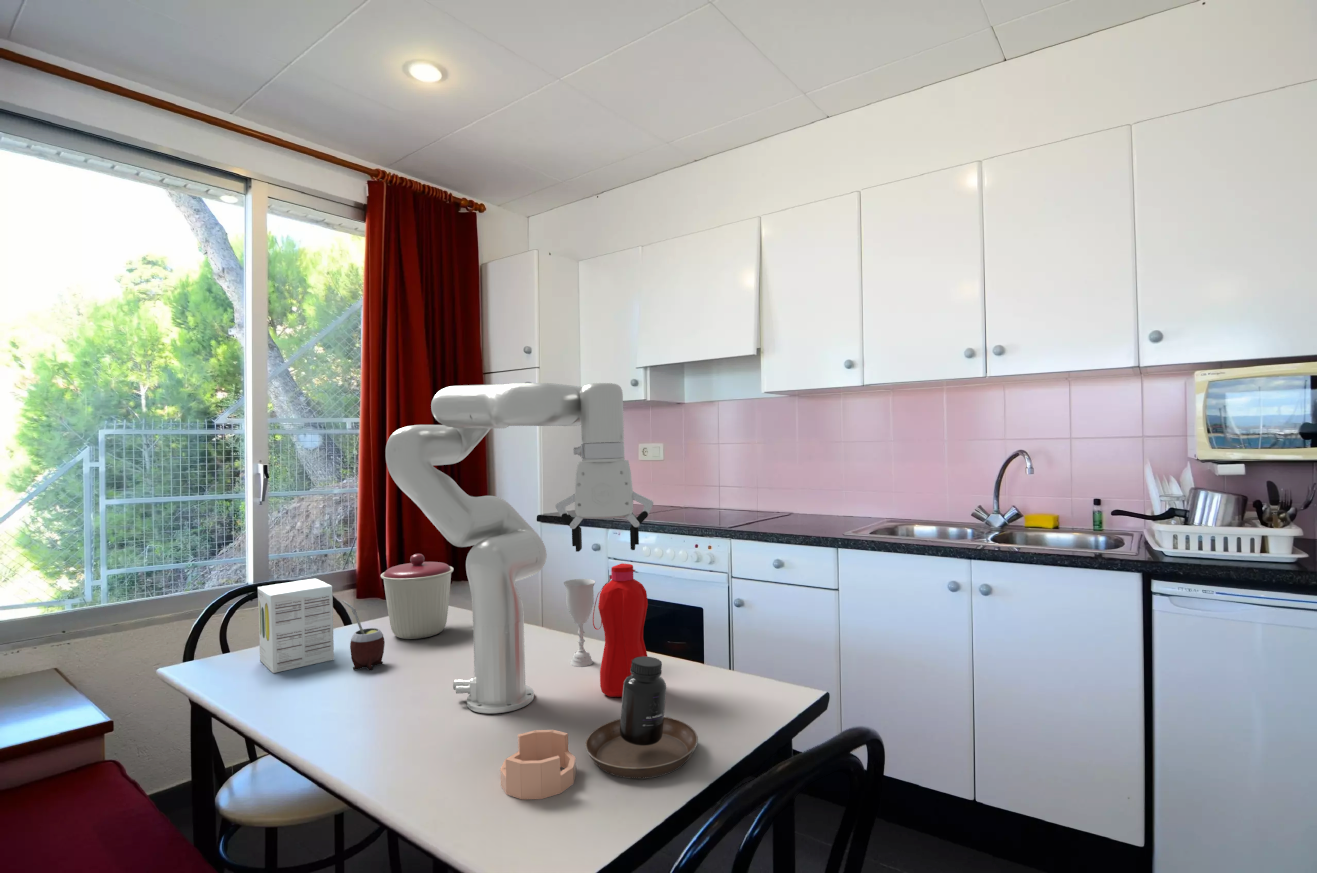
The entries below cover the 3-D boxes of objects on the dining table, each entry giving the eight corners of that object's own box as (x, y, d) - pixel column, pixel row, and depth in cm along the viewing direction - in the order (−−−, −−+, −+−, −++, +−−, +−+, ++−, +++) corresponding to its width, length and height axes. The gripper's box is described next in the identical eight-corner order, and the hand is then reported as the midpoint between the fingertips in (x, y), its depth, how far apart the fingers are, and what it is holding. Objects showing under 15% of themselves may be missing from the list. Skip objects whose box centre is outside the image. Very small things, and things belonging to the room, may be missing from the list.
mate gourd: (388, 667, 150) (386, 600, 150) (349, 675, 145) (347, 606, 145) (380, 658, 156) (378, 594, 156) (343, 666, 152) (342, 600, 152)
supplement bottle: (654, 751, 101) (659, 672, 101) (612, 741, 103) (617, 664, 103) (668, 732, 107) (673, 658, 107) (628, 723, 110) (633, 650, 109)
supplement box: (258, 660, 157) (256, 586, 157) (318, 647, 166) (316, 577, 166) (272, 674, 148) (269, 595, 148) (335, 659, 156) (333, 585, 156)
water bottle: (601, 680, 138) (598, 559, 138) (653, 683, 136) (649, 560, 136) (587, 698, 129) (584, 568, 129) (643, 701, 127) (639, 569, 127)
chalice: (604, 660, 150) (601, 580, 150) (585, 670, 145) (582, 587, 145) (578, 655, 154) (576, 577, 154) (559, 664, 148) (557, 583, 148)
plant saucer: (608, 798, 94) (607, 777, 94) (572, 746, 110) (571, 728, 110) (718, 770, 101) (718, 749, 101) (669, 725, 117) (669, 707, 117)
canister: (367, 643, 168) (365, 560, 168) (406, 623, 186) (404, 548, 186) (434, 645, 165) (432, 560, 165) (467, 624, 183) (464, 548, 183)
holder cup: (493, 800, 93) (492, 764, 93) (511, 763, 104) (510, 730, 104) (569, 798, 93) (568, 762, 93) (579, 761, 104) (578, 729, 104)
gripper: (550, 455, 115) (553, 554, 115) (651, 452, 114) (654, 552, 114) (557, 454, 122) (560, 547, 122) (652, 451, 122) (655, 545, 122)
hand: (605, 549), depth 118 cm, fingers open, 9 cm apart
